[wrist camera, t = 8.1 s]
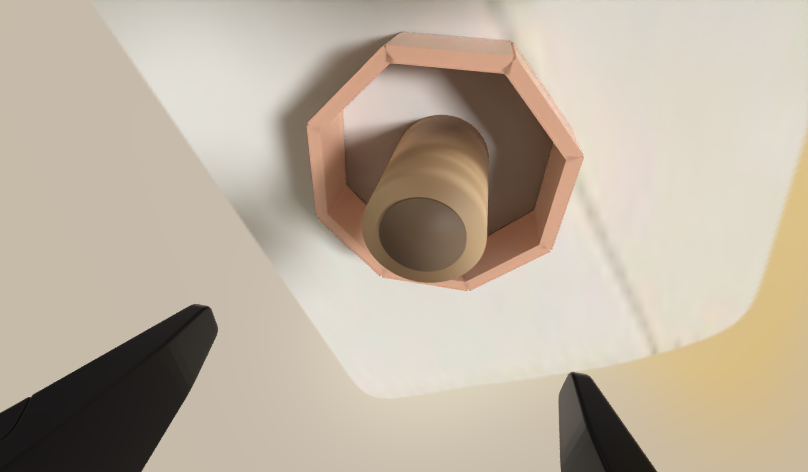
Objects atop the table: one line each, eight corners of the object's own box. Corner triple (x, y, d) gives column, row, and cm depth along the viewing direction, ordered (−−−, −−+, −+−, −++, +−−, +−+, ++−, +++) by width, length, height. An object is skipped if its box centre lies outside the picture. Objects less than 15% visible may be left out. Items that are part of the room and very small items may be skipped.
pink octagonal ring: (596, 48, 15) (615, 64, 13) (529, 264, 22) (533, 302, 20) (325, 25, 17) (296, 37, 14) (339, 235, 23) (321, 267, 21)
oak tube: (496, 120, 18) (497, 190, 12) (480, 206, 20) (476, 293, 15) (398, 109, 18) (359, 172, 13) (395, 194, 21) (361, 275, 16)
